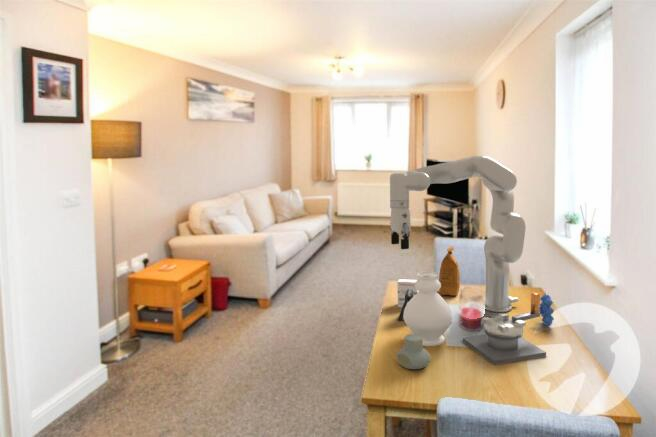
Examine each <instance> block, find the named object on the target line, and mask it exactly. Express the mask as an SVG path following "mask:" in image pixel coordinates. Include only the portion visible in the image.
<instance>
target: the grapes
mask: <svg viewBox="0 0 656 437" xmlns="http://www.w3.org/2000/svg"><path fill="white" fill-rule="evenodd" d="M553 304H554V302H553V301H552V297H551V296H550V295H549V294H548V293H544V294H543V295H542V296H540V311H539V312H540V317H542V318H541V321H542V323H543V324H544V325H545V326H546V327H548V328H549V327H551V326H552V325H553V321H554V320H555V318H554V317H553V313H554V312H555V310H554V308H553V307H552V305H553Z"/></svg>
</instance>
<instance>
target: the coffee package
mask: <svg viewBox="0 0 656 437" xmlns="http://www.w3.org/2000/svg"><path fill="white" fill-rule="evenodd" d="M446 250H447V253H446V255H445V256H444V257H443V259H442V261H441V263H440V264H441V265H440V268H439V274H438V281H439V282H440V283H441V288H440V289H439V290H438V294H439V295H440V296H458V295H459V291H460V284H461V281H460V280H461V275H460V273H461V272H460V268H459V267H460V265H459V264H458V261H457V259H456V258H455V257H454V254H453V251H454V250H455V247H454V246H453V245H452V246H449V247H448V248H447V249H446Z"/></svg>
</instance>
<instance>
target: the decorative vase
mask: <svg viewBox="0 0 656 437" xmlns="http://www.w3.org/2000/svg"><path fill="white" fill-rule="evenodd" d="M416 276H417V278H418V279H416V280H417V281H416V282H415V288H416V289H417V290H418V293H417V294H416V295H415V296H414V297H413V298H412V299H411V300H410V301H409V302H408V304H407V305H406V307H405V309H404V314H403V317H404V321H405V322H404V321H403V322H404V323H405V325H406V326H407V327H408V329H409V330H410V332H411V333H412V334H417V335H420V336H421V337H422V347H423V346H424V347H436V346H440V345H442V344H444V343H445V341H446V337H445V336H444V333H446V331H447V330H449V328H450V326H451V324H452V323H453V311H452V309H451V307H450V305H449V304H448V303H447V301H446V300H445V299H444V298H443V297H442V295H440V294H439V289H440V288H441V283H440V282H439V274H438V272H435V271H420V272H418V273H417V274H416Z"/></svg>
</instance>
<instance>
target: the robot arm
mask: <svg viewBox="0 0 656 437" xmlns="http://www.w3.org/2000/svg"><path fill="white" fill-rule="evenodd" d="M472 178H481V181H482V184H483V186H484V187H486V189H488V190H489V192H490V194H491V197H492V207H491V215H490V223H489V224H490V228H491V230H492V231H494V232H495V233H498V234H501V235H491V236H489V237H488V238H487V239H486V240H485V242H484V245H483V251H484V258H485V290H484V291H485V293H484V294H485V296H484V297H485V298H484V301H483V302H484V305H485V308H486V311H489V312H493V313H506V312H509V311H511V310H512V309H513V305H512V303H518V302H519V298H518V297H512V296H509V295H510V294H509V292H510V287H509V285H510V284H509V283H510V264H514V263H517V262H518V261H519V260H520V258H521V257H522V255H523V251H524V244H525V237H526V236H525V235H526V227H527V226H526V222H525V219H524V218H523V217H522V216H521V215H519V214H518V213H515V212H514V206H515V196H514V192H513V190H514V189H515V187H517V186H516V185H517V183H518V180H517V176H516V174H515V173H514V172H513V171H512V170H511V169H509V168H508V167H506V166H504V165H502V164H501V163H499V162H498V161H497V160H495V159H493V158H491V157H490V156H487V155H485V156H484V155H471V156H467V157H463V158H460V159H455V160H451V161H447V162H442V163H437V164H433V165H428V166H423V167H419V168H415V169H410V170H407V171H406V172H394V173H391V174H390V176H389V208H390V222H389V224H390V234H391V236H390V237H391V239H390V244H391V245H398V244H400V249H401V250H408V249H409V248H410V234H411V230H412V229H411V214H410V191H411V192H412V191H414V192H423V191H426V190H427V189H428V188H429V187H430V185H433V184H452V183H456V182H459V181H464V180H467V179H472ZM400 238H401V239H400Z"/></svg>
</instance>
